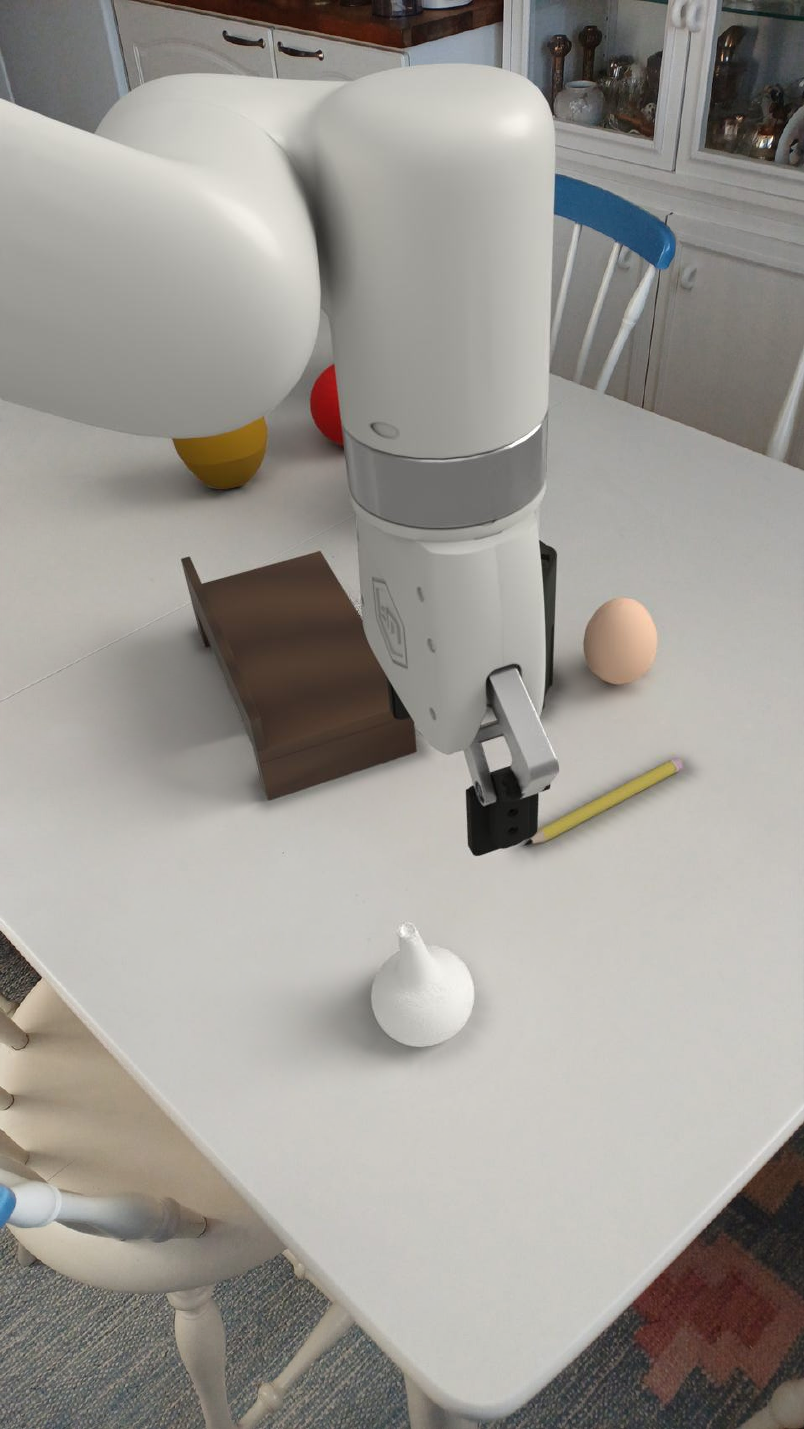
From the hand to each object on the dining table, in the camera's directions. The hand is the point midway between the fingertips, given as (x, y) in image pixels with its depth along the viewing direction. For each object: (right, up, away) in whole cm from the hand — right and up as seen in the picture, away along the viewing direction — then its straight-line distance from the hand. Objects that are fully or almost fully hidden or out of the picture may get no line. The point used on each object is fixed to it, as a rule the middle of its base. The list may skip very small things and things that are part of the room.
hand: (459, 771), depth 52 cm
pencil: (+12, -4, +26) cm, 29 cm away
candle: (+7, +5, +36) cm, 36 cm away
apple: (-21, +27, +63) cm, 72 cm away
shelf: (-11, +5, +37) cm, 39 cm away
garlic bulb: (-1, -16, +15) cm, 22 cm away
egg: (+15, +6, +36) cm, 39 cm away
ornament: (-8, +33, +67) cm, 75 cm away
